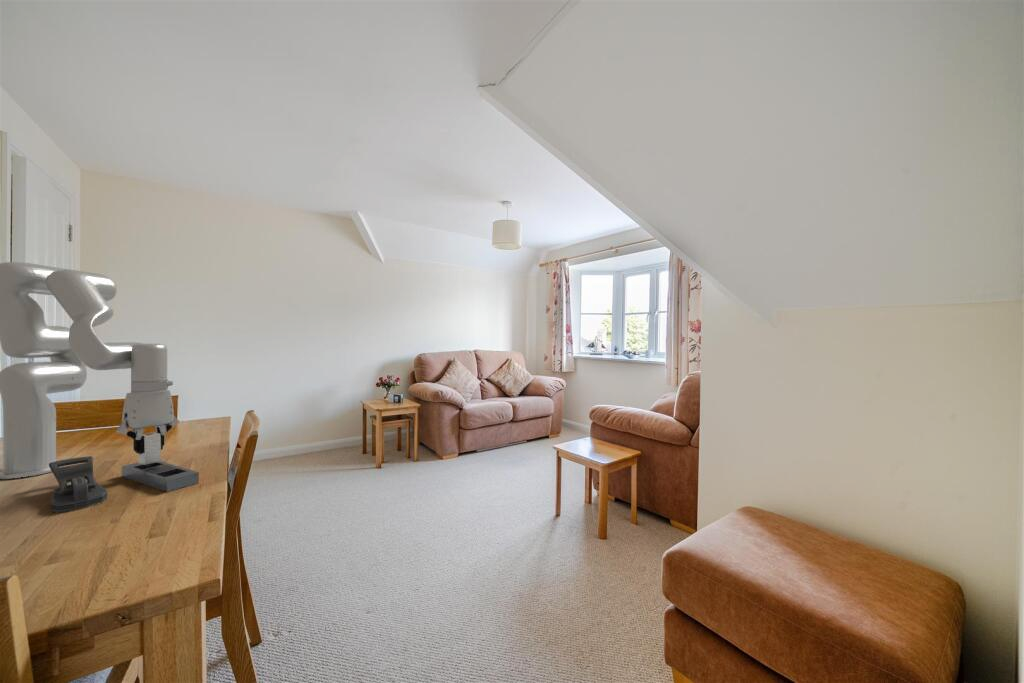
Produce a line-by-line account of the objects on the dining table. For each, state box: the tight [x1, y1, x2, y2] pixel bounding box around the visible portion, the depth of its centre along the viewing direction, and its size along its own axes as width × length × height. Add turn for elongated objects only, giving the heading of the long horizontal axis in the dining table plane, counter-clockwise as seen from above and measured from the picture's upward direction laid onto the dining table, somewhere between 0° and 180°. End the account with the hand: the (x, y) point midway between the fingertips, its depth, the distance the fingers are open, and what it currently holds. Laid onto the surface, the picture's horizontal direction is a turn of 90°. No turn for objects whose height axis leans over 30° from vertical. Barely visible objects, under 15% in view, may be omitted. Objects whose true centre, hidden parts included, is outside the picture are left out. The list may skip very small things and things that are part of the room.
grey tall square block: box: [137, 432, 162, 465], centre depth 109 cm, size 4×4×8 cm
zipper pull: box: [49, 455, 108, 514], centre depth 96 cm, size 9×7×25 cm
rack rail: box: [121, 460, 200, 493], centre depth 107 cm, size 24×7×3 cm, turn 65°
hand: (149, 450), depth 109 cm, fingers closed on grey tall square block, 3 cm apart
